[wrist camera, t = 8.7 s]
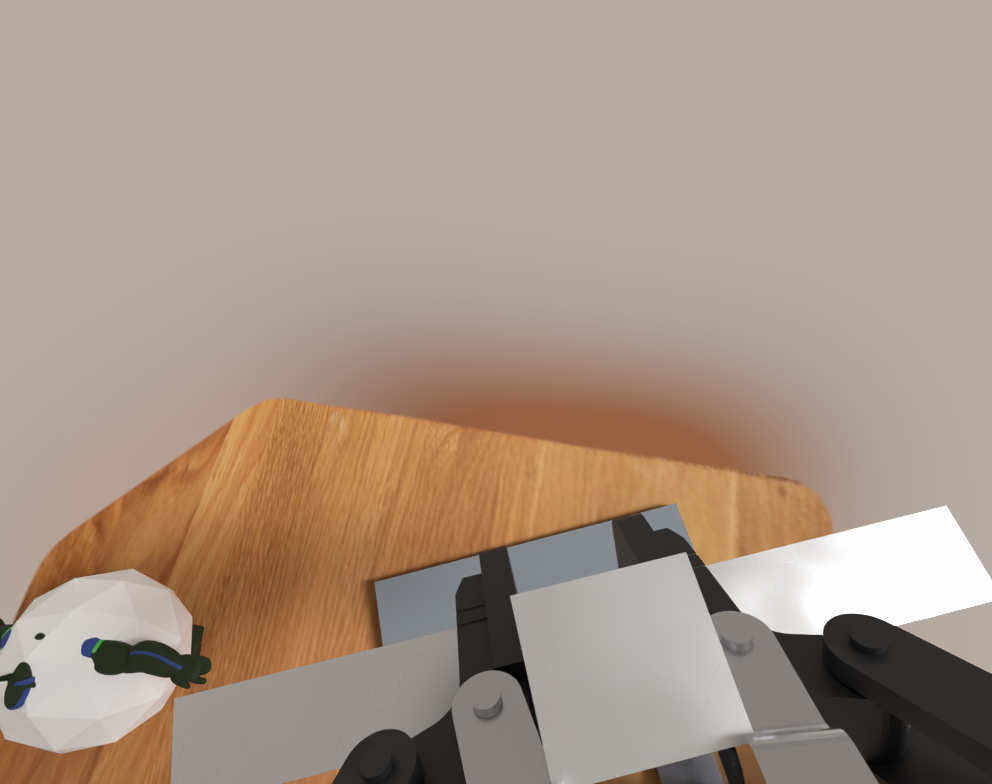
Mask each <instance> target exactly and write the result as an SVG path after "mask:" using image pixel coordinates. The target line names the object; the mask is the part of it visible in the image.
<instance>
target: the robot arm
mask: <svg viewBox="0 0 992 784" xmlns="http://www.w3.org/2000/svg"><path fill="white" fill-rule="evenodd" d="M612 529H613V536H614V542H615V549H616V555H617V562H618V568H619V569H620V568H624V567H628V566H632V565H636V564H640V563H644V562H648V561H652V560H656V559H660V558H664V557H668V556H672V555H676V554H680V553H684V552H686V553H687V555H688V558H689V561H690V563H691V566H692V569H693V571H694V574H695V577H696V579H697V582H698V585H699V588H700V590H701V593H702V596H703V598H704V601H705V604H706V606H707V609H708V612H709V614H710V617H711V620H712V622H713V625H714V628H715V630H716V633H717V636H718V638H719V641H720V644H721V646H722V649H723V652H724V654H725V657H726V660H727V663H728V665H729V668H730V671H731V673H732V676H733V679H734V681H735V684H736V687H737V689H738V692H739V695H740V697H741V700H742V703H743V705H744V708H745V711H746V713H747V716H748V719H749V721H750V724H751V727H752V729H753V732H754V735H753V736H744V737H743V738H744V742H745V744H743V745H739V746H735V747H731V748H727V749H724V750H720V751H716V752H713V753H714V756H715V759H716V761H717V764H718V767H719V770H720V773H721V776H722V779H723V782H724V784H992V674H991V673H988V672H986V671H984V670H983V669H981V668H979V667H977V666H974V665H973V664H971V663H969V662H966V661H965V660H963V659H960V658H958V657H957V656H955V655H952V654H950V653H949V652H947V651H945V650H942V649H941V648H939V647H937V646H935V645H933V644H931V643H928V642H927V641H924V640H922V639H921V638H919V637H916V636H915V635H913V634H910V633H909V632H907V631H905V630H902V629H901V628H899V627H897V626H895V625H893V624H891V623H889V622H886V621H884V620H882V619H880V618H877V617H874V616H870V615H865V614H858V613H847V614H841V615H837V616H835V617H832V618H831V619H830V620H828V621H827V623H826V624H825V626H824V628H823V635H811V634H787V633H780V632H775V631H772V630H771V629H770V628H769V627H768V626H767V625H766V624H765V623H763V622H762V621H761V620H759V619H757V618H756V617H754V616H751V615H749V614H746V613H742V612H741V611H740V610H739V609H738V607H737V606H736V605H735V603H734V602H733V601H732V599H731V598H730V597H729V595H728V594H727V593H726V592H725V590H724V589H723V588H722V586H721V585H720V584H719V582H718V581H717V580H716V578H715V577H714V576H713V575H712V573H711V572H710V571H709V569H708V568H707V567H705V565H704V563H703V561H702V560H701V559H700V558H699V556H698V555H696V553H695V551H694V550H693V548H692V547H691V546H690V544H689V543H688V542H687V541H686V539H685V538H684V537H682V536H680V535H679V534H677V533H675V532H674V531H672V530H670V529H669V528H664V529H660V530H656V531H654V530H653V529H652V528H651V526H650V525H649V523H648V522H647V520H646V519H645V517H644V516H643V515H642V514H641V513H638V514H634V515H630V516H626V517H622V518H618V519H614V520H612ZM479 559H480V567H481V573H480V574H476V575H472V576H468V577H464V578H462V580H461V583H460V585H459V587H458V589H457V592H456V594H455V601H456V614H457V615H456V620H457V640H458V660H459V679H460V683H459V690H458V691H457V693H456V695H455V697H454V700H453V703H452V707H451V708H450V710H449V711H448V712H447V713H446V714H445V716H444V717H442V718H441V719H440V720H439V721H438V722H436V723H435V724H434V725H432V726H430V727H429V728H427V729H426V730H424V731H422V732H421V733H419V734H417V735H416V736H414V737H412V738H411V737H410V736H409V735H407V734H406V733H405V732H403V731H400V730H397V729H384V730H380V731H377V732H375V733H373V734H371V735H369V736H367V737H366V738H364V739H363V740H362V741H361V742H359V743H358V744H357V745H356V746H355V747H354V749H353V750H352V751H351V752H350V754H349V755H348V757H347V758H346V760H345V762H344V763H343V765H342V767H341V769H340V771H339V772H338V774H337V776H336V778H335V780H334V781H333V783H332V784H551V779H550V775H549V770H548V766H547V761H546V757H545V752H544V748H543V746H542V745H543V743H542V739H541V734H540V730H539V725H538V721H537V716H536V711H535V707H534V702H533V698H532V693H531V689H530V684H529V680H528V675H527V671H526V666H525V662H524V657H523V653H522V648H521V644H520V639H519V635H518V630H517V626H516V621H515V617H514V612H513V608H512V603H511V599H510V596H511V595H515V594H518V591H517V587H516V583H515V579H514V575H513V571H512V567H511V562H510V558H509V554H508V550H507V546H503V547H499V548H494V549H490V550H486V551H482V552H479Z"/></svg>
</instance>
